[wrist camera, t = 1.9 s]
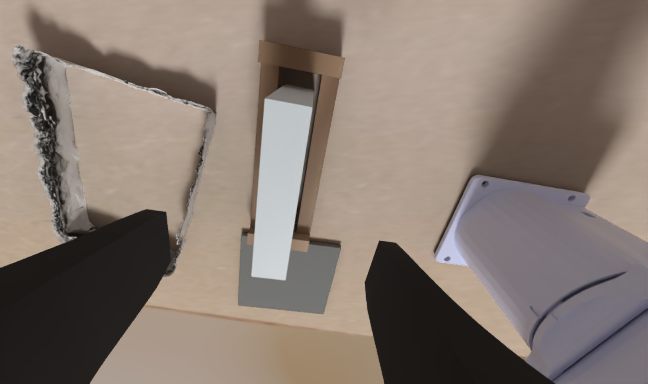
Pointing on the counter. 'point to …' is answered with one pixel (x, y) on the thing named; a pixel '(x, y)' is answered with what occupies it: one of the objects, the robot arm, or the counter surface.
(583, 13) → the counter surface
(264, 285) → the mat
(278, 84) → the rack
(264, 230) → the board
